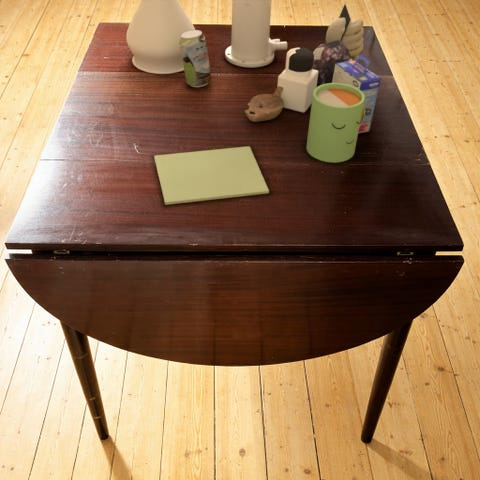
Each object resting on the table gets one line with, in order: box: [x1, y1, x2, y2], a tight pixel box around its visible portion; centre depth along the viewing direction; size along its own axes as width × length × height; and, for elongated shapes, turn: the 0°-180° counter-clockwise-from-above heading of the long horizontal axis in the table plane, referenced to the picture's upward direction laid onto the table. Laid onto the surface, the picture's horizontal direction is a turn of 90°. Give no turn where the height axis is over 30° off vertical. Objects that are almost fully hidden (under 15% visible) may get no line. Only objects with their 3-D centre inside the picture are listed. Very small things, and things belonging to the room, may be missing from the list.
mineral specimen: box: [312, 40, 352, 86], centre depth 146 cm, size 10×10×10 cm
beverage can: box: [179, 29, 212, 88], centre depth 142 cm, size 6×7×12 cm
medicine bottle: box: [276, 47, 318, 114], centre depth 137 cm, size 7×7×12 cm
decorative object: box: [325, 4, 365, 61], centre depth 153 cm, size 13×10×10 cm
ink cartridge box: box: [332, 54, 382, 135], centre depth 130 cm, size 10×6×14 cm, turn 27°
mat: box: [153, 145, 270, 206], centre depth 120 cm, size 20×16×1 cm
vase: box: [125, 0, 196, 75], centre depth 145 cm, size 17×17×25 cm
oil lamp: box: [244, 85, 284, 123], centre depth 136 cm, size 13×8×5 cm, turn 137°
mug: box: [306, 83, 365, 163], centre depth 124 cm, size 13×10×12 cm
